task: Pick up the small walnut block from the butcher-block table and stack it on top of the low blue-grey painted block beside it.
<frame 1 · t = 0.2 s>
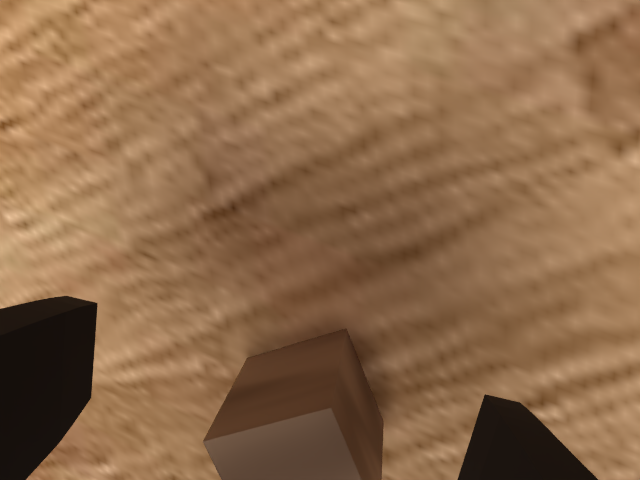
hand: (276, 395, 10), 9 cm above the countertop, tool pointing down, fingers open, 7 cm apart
walnut block: (315, 389, 20), on the countertop
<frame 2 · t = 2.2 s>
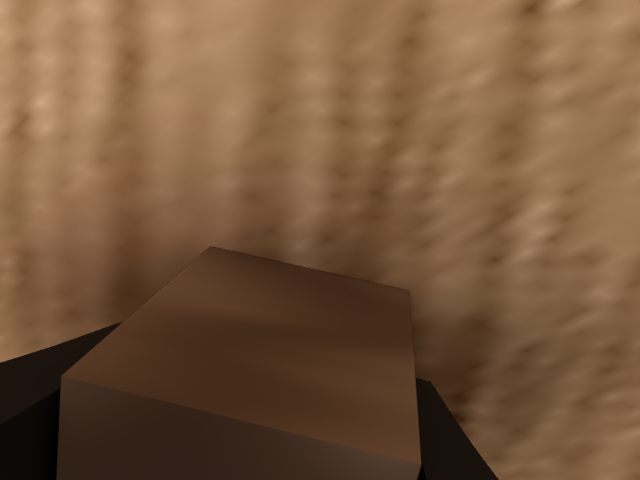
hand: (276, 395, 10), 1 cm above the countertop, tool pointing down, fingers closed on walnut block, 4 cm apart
walnut block: (291, 357, 11), on the countertop, touching gripper
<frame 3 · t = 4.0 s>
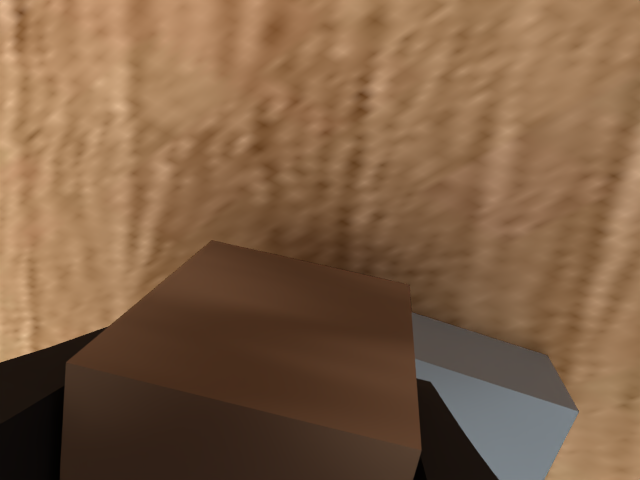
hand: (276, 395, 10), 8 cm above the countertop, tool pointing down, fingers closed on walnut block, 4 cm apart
walnut block: (291, 351, 11), point 7 cm above the countertop, touching gripper
base block: (392, 411, 19), on the countertop
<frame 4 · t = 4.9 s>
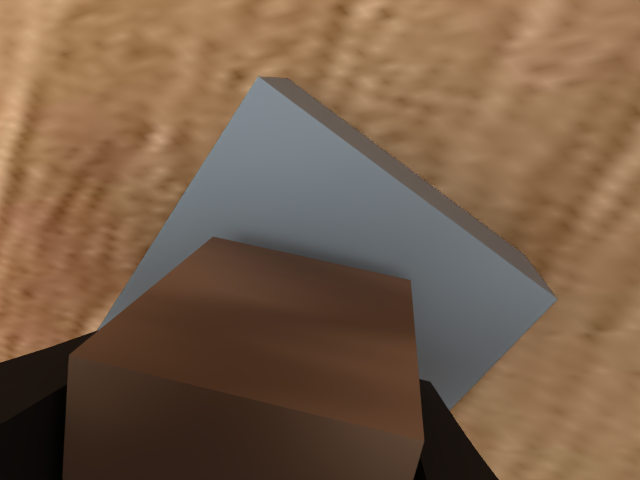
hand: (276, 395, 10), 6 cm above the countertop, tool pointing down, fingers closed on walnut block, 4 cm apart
walnut block: (293, 347, 11), point 5 cm above the countertop, touching gripper
base block: (323, 274, 16), on the countertop
when the fingers open (6 cm above the countertop, at t = 5.8 s): walnut block drops 1 cm, resting on base block.
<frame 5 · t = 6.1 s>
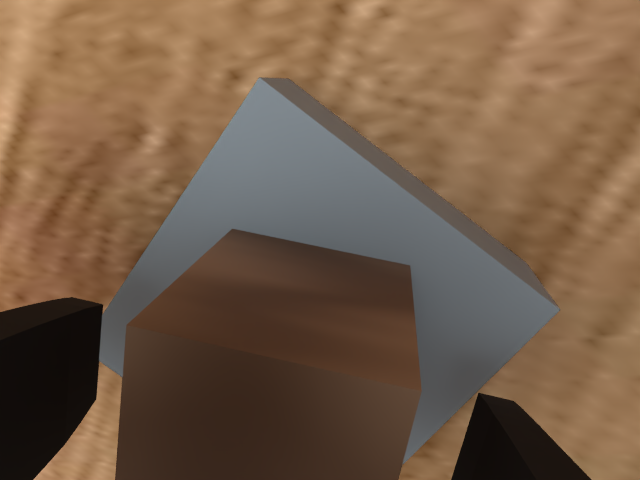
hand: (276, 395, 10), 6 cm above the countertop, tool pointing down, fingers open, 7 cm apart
walnut block: (305, 327, 12), point 3 cm above the countertop, touching base block
base block: (321, 278, 16), on the countertop, touching walnut block
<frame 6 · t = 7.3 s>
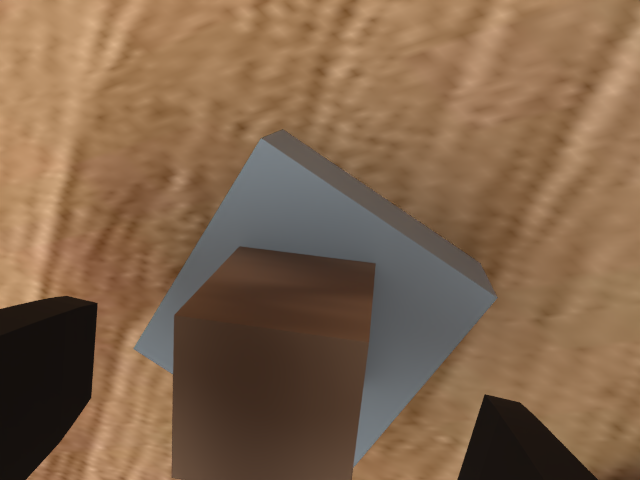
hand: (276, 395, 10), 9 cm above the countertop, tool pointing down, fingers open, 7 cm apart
walnut block: (301, 317, 16), point 3 cm above the countertop
base block: (319, 284, 20), on the countertop
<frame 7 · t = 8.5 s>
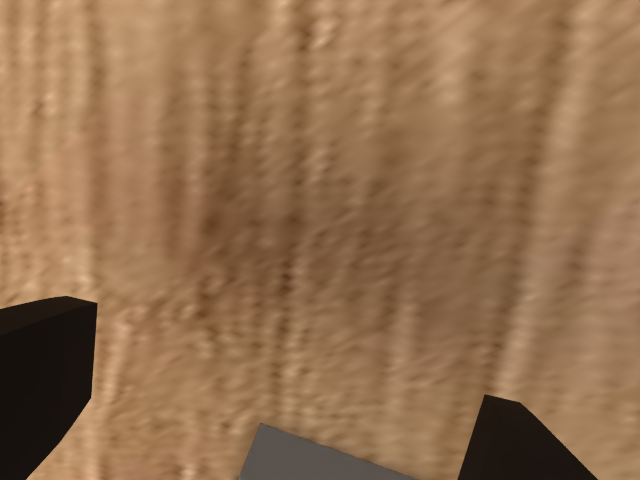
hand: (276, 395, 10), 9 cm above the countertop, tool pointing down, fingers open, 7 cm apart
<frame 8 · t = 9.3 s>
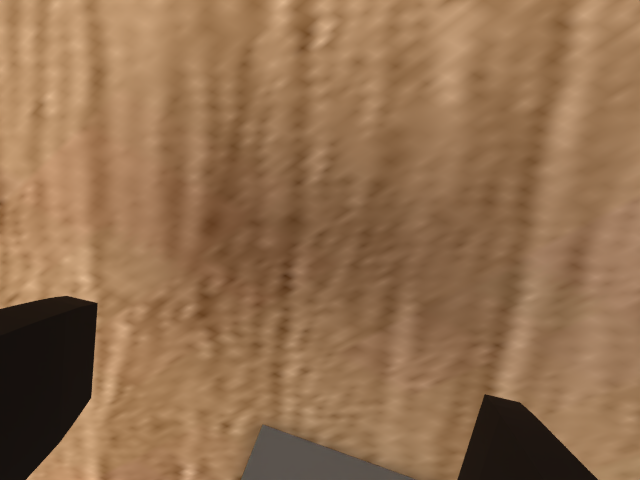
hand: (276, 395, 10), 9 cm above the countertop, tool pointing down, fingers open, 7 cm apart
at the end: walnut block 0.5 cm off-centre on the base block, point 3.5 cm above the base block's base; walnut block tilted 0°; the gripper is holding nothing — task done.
